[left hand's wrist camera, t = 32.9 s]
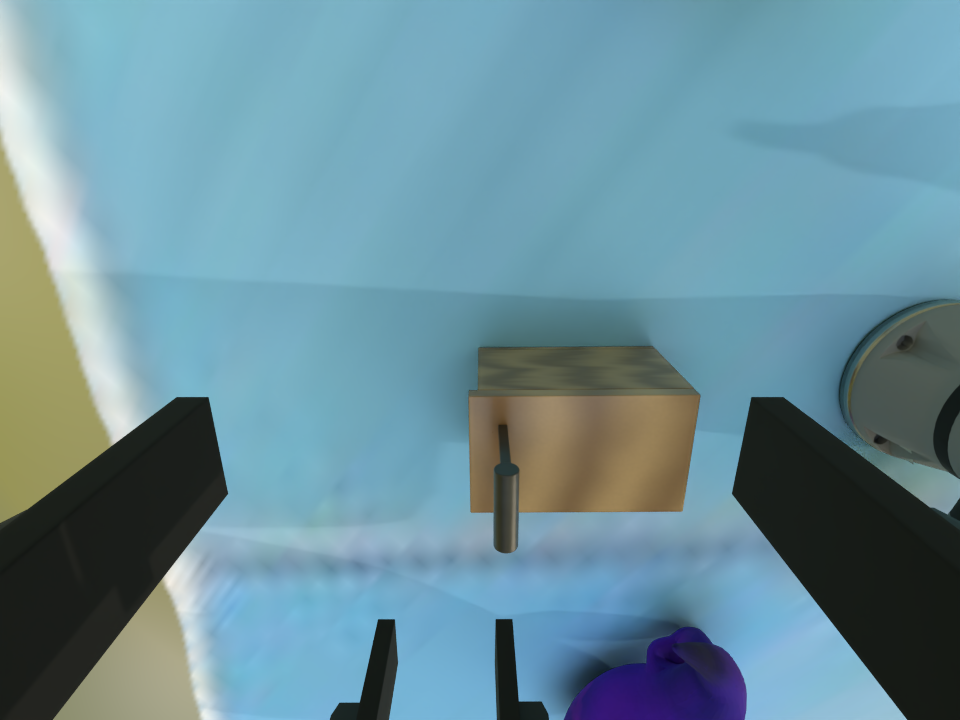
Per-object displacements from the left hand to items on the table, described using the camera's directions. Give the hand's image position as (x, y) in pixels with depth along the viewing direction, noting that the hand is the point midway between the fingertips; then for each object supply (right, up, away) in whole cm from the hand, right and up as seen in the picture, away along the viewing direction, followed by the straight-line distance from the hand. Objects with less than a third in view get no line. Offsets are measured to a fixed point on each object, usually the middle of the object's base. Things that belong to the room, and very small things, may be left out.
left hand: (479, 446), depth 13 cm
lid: (+8, -5, +27) cm, 29 cm away
